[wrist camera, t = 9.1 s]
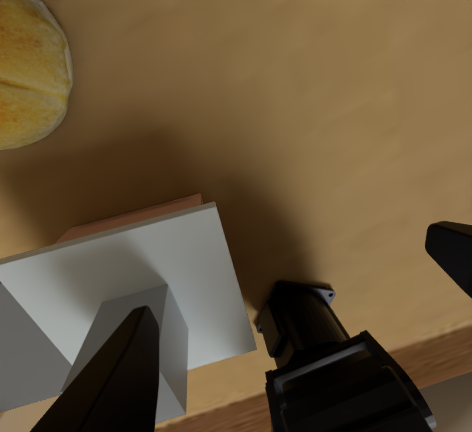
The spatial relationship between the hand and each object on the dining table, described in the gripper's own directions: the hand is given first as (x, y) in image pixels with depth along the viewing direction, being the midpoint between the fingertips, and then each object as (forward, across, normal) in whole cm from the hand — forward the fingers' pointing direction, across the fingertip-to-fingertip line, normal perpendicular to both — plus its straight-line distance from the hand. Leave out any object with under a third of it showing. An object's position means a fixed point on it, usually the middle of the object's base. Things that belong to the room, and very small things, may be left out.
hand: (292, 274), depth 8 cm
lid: (+7, +8, +6) cm, 12 cm away
